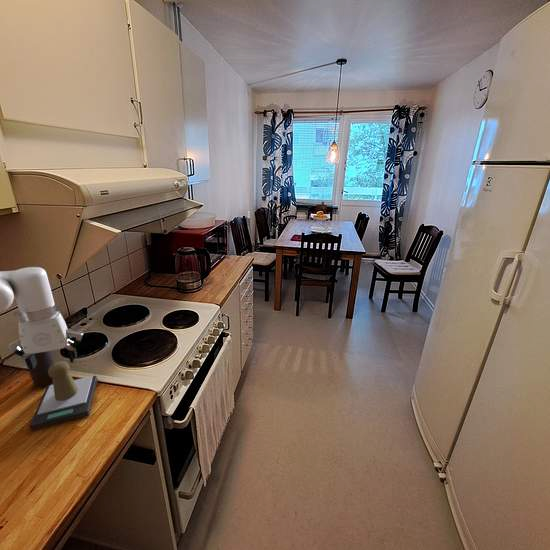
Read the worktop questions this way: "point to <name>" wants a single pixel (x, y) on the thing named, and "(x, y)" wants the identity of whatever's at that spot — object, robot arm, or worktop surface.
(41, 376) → the bottle
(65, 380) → the cork
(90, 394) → the scale
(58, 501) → the worktop surface
